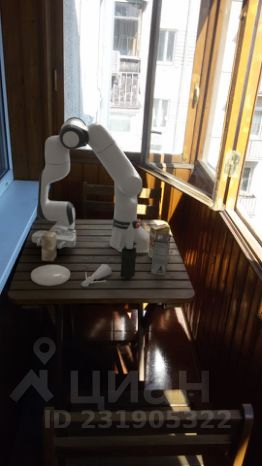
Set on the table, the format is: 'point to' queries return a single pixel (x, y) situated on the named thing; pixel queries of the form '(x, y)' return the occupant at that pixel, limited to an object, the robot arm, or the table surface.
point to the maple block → (49, 246)
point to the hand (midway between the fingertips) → (48, 245)
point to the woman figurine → (97, 275)
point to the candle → (128, 255)
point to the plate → (50, 275)
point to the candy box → (153, 231)
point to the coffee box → (160, 253)
